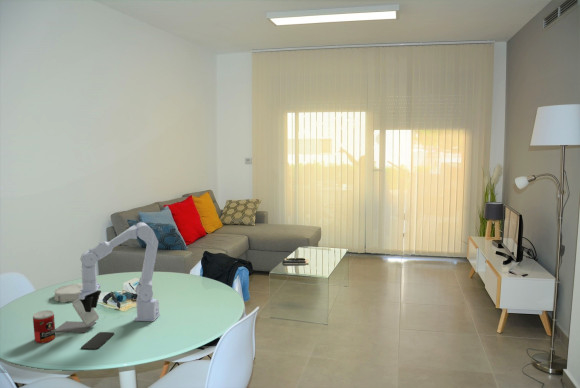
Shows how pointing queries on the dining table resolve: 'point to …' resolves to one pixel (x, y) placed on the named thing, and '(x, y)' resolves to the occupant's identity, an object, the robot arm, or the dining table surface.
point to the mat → (74, 327)
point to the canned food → (44, 326)
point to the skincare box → (85, 313)
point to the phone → (97, 340)
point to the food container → (68, 293)
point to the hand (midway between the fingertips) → (91, 309)
